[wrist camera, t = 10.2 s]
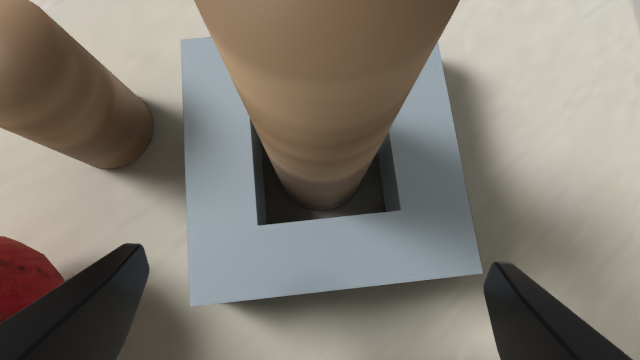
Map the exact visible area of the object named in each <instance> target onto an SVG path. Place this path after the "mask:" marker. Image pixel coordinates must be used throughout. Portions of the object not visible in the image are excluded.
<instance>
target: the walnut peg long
mask: <svg viewBox="0 0 640 360" xmlns="http://www.w3.org/2000/svg"><path fill="white" fill-rule="evenodd" d="M194 1H195V3H196V5H197V8H198V10H199V12H200V14H201V16H202V18H203V20H204V22H205V24H206V26H207V29H208V31H209V33H210V35H211V37H212V39H213V41H214V43H215V45H216V47H217V50H218V52H219V54H220V56H221V58H222V60H223V62H224V64H225V66H226V68H227V71H228V73H229V75H230V77H231V79H232V81H233V83H234V85H235V87H236V89H237V92H238V94H239V96H240V98H241V100H242V102H243V104H244V106H245V108H246V110H247V113H248V115H249V117H250V119H251V121H252V123H253V125H254V127H255V129H256V131H257V134H258V136H259V138H260V140H261V142H262V144H263V146H264V148H265V150H266V152H267V155H268V157H269V159H270V161H271V163H272V165H273V167H274V169H275V171H276V173H277V176H278V178H279V180H280V182H281V184H282V186H283V188H284V190H285V191H286V193H287V194H288V195H289V197H290V198H292V199H293V200H294V201H295V202H296V203H298V204H300V205H302V206H304V207H306V208H309V209H314V210H327V209H332V208H335V207H337V206H339V205H341V204H343V203H344V202H346V201H347V200H348V199H349V198H350V197H351V196H352V195H353V194H354V193H355V191H356V190H357V188H358V186H359V184H360V182H361V180H362V179H363V177H364V175H365V173H366V171H367V170H368V168H369V166H370V164H371V162H372V160H373V159H374V157H375V155H376V153H377V151H378V149H379V148H380V146H381V144H382V142H383V140H384V139H385V137H386V135H387V133H388V131H389V129H390V128H391V126H392V124H393V122H394V120H395V118H396V117H397V115H398V113H399V111H400V109H401V107H402V106H403V104H404V102H405V100H406V98H407V97H408V95H409V93H410V91H411V89H412V87H413V86H414V84H415V82H416V80H417V78H418V76H419V75H420V73H421V71H422V69H423V67H424V66H425V64H426V62H427V60H428V58H429V56H430V55H431V53H432V51H433V49H434V47H435V45H436V44H437V42H438V40H439V38H440V36H441V34H442V33H443V31H444V29H445V27H446V25H447V24H448V22H449V20H450V18H451V16H452V14H453V13H454V11H455V9H456V7H457V5H458V3H459V1H460V0H194Z"/></svg>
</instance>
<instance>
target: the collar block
mask: <svg viewBox="0 0 640 360" xmlns="http://www.w3.org/2000/svg"><path fill="white" fill-rule="evenodd" d="M181 61H182V92H183V122H184V152H185V183H186V213H187V243H188V274H189V304H190V307H192V306H201V305H210V304H219V303H228V302H237V301H245V300H254V299H263V298H272V297H281V296H289V295H298V294H307V293H316V292H325V291H334V290H342V289H351V288H360V287H369V286H378V285H386V284H395V283H404V282H413V281H422V280H431V279H439V278H448V277H457V276H466V275H475V274H483V271H482V266H481V261H480V256H479V251H478V246H477V240H476V235H475V230H474V225H473V220H472V215H471V210H470V205H469V199H468V194H467V189H466V184H465V179H464V174H463V169H462V163H461V158H460V153H459V148H458V143H457V138H456V133H455V127H454V122H453V117H452V112H451V107H450V102H449V97H448V91H447V86H446V81H445V76H444V71H443V66H442V61H441V55H440V50H439V45H438V42H437V44H436V45H435V47H434V49H433V51H432V53H431V55H430V56H429V58H428V60H427V62H426V64H425V66H424V67H423V69H422V71H421V73H420V75H419V76H418V78H417V80H416V82H415V84H414V86H413V87H412V89H411V91H410V93H409V95H408V97H407V98H406V100H405V102H404V104H403V106H402V107H401V109H400V111H399V113H398V115H397V117H396V118H395V120H394V122H393V124H392V126H391V128H390V129H389V131H388V133H387V135H386V137H385V139H384V140H383V142H382V144H381V146H380V148H379V149H378V151H377V154H378V160H379V167H380V174H381V181H382V188H383V195H384V201H385V208H386V212H381V213H371V214H362V215H353V216H343V217H334V218H325V219H315V220H306V221H297V222H288V223H278V224H269V225H267V216H266V203H265V190H264V178H263V165H262V152H261V140H260V138H259V136H258V134H257V131H256V129H255V127H254V125H253V123H252V121H251V119H250V117H249V115H248V113H247V110H246V108H245V106H244V104H243V102H242V100H241V98H240V96H239V94H238V92H237V89H236V87H235V85H234V83H233V81H232V79H231V77H230V75H229V73H228V71H227V68H226V66H225V64H224V62H223V60H222V58H221V56H220V54H219V52H218V50H217V47H216V45H215V43H214V41H213V39H212V37H206V38H195V39H184V40H181Z"/></svg>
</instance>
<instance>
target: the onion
mask: <svg viewBox="0 0 640 360" xmlns="http://www.w3.org/2000/svg"><path fill="white" fill-rule="evenodd" d="M63 283H64V279H63V277H62V276H61V274H60V273H59V272H58V271H57V270H56V268H55V267H54V266H53V265H52V264H51V263H50V261H49V260H48V259H47V258H46V257H45V255H44V254H42V253H40V252H38V251H36V250H34V249H32V248H30V247H28V246H26V245H24V244H22V243H20V242H18V241H15V240H13V239H10V238H7V237H2V236H0V324H1V323H2V322H4V321H5V320H7V319H8V318H10V317H11V316H13V315H15V314H16V313H18V312H19V311H21V310H22V309H24V308H25V307H27V306H28V305H30V304H32V303H33V302H35V301H36V300H38V299H39V298H41V297H42V296H44V295H45V294H47V293H49V292H50V291H52V290H53V289H55V288H56V287H58V286H59V285H61V284H63Z"/></svg>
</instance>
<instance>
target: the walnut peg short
mask: <svg viewBox="0 0 640 360" xmlns="http://www.w3.org/2000/svg"><path fill="white" fill-rule="evenodd" d="M0 128H3V129H5V130H8V131H10V132H12V133H15V134H17V135H20V136H22V137H24V138H27V139H29V140H32V141H34V142H36V143H39V144H41V145H43V146H46V147H48V148H51V149H53V150H55V151H58V152H60V153H63V154H65V155H67V156H70V157H72V158H75V159H77V160H79V161H82V162H84V163H86V164H89V165H91V166H94V167H97V168H102V169H113V168H119V167H122V166H125V165H127V164H129V163H131V162H133V161H134V160H135V159H137V158H138V157H139V156H140V155H141V154H142V153H143V152H144V151H145V149H146V148H147V146H148V145H149V142H150V140H151V137H152V134H153V118H152V115H151V112H150V110H149V108H148V107H147V106H146V104H145V103H144V102H143V101H142V100H141V99H140V98H139V97H137V96H136V95H135V94H134V93H133V92H132V91H131V90H130V89H129V88H128V87H126V86H125V85H124V84H123V83H122V82H121V81H120V80H119V79H118V78H117V77H115V76H114V75H113V74H112V73H111V72H110V71H109V70H108V69H107V68H106V67H104V66H103V65H102V64H101V63H100V62H99V61H98V60H97V59H96V58H95V57H93V56H92V55H91V54H90V53H89V52H88V51H87V50H86V49H85V48H84V47H82V46H81V45H80V44H79V43H78V42H77V41H76V40H75V39H74V38H73V37H71V36H70V35H69V34H68V33H67V32H66V31H65V30H64V29H63V28H62V27H60V26H59V25H58V24H57V23H56V22H55V21H54V20H53V19H52V18H51V17H49V16H48V15H47V14H46V13H45V12H44V11H43V10H42V9H41V8H40V7H38V6H37V5H35V4H34V3H32V2H30V1H28V0H0Z"/></svg>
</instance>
